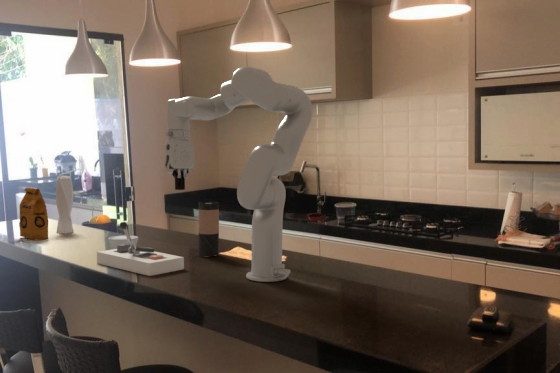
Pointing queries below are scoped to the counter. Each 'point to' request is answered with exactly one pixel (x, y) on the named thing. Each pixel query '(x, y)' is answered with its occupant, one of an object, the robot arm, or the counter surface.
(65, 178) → the skyscraper
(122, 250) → the charcoal button
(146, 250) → the black rocker
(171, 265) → the control panel
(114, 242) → the ramekin
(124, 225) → the toggle lever
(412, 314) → the counter surface
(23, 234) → the coffee package
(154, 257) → the terracotta button
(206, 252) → the travel mug
